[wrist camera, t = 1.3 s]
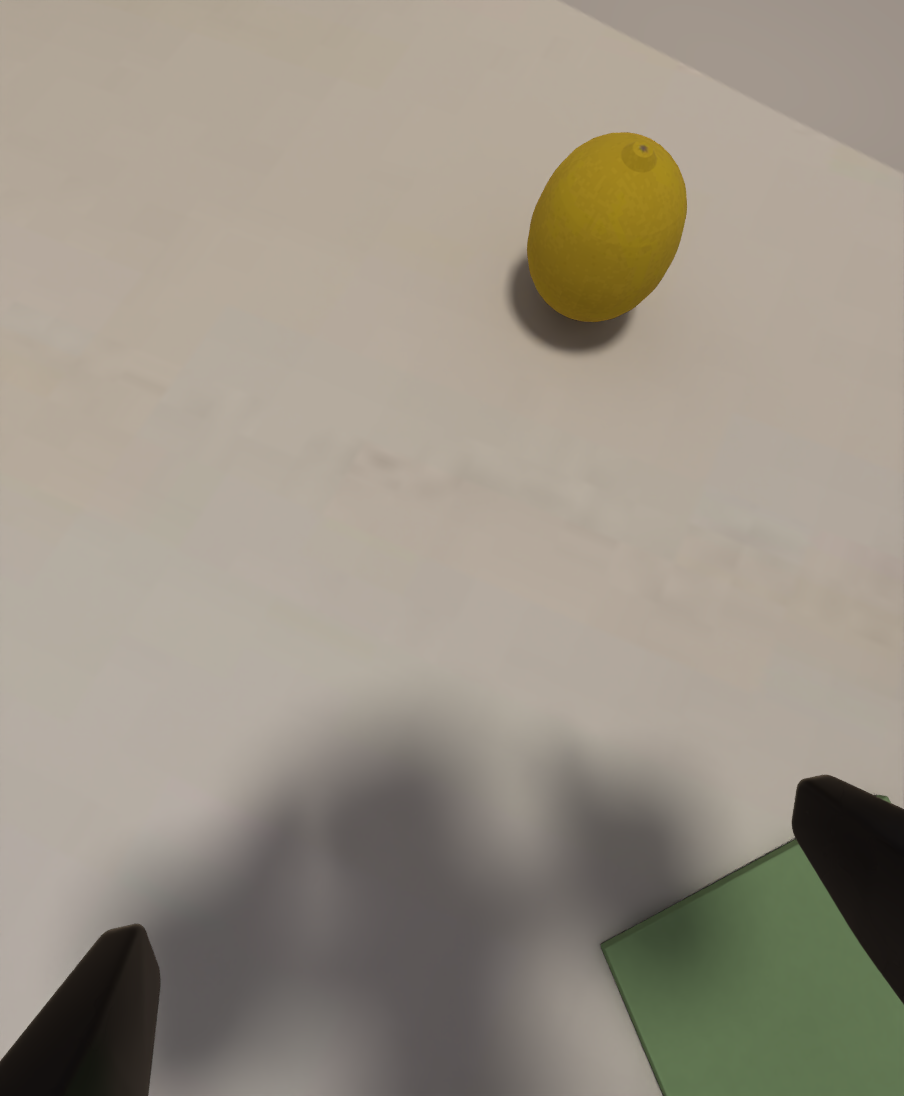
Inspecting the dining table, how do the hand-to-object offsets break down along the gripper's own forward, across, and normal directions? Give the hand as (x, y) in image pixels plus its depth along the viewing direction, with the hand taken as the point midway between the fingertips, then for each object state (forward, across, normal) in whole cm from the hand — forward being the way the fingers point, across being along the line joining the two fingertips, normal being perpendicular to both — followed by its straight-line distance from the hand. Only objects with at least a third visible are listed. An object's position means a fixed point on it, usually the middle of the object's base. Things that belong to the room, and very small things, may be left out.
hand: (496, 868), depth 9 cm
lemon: (+23, -10, -6) cm, 25 cm away
